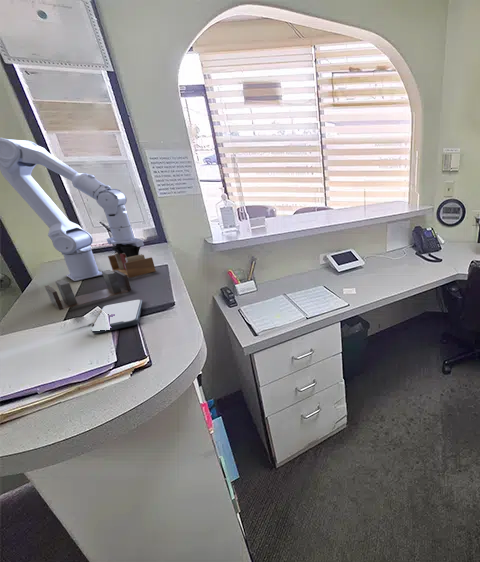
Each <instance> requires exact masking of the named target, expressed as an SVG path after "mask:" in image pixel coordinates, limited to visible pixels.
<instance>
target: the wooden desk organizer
mask: <svg viewBox="0 0 480 562" xmlns="http://www.w3.org/2000/svg"><path fill="white" fill-rule="evenodd" d="M107 258H108V261H109V264H110V267H111V271H113V272H114V271H115V270H118V271H120V272H122V273H124V274H126V275H127V277H128V279H129V278H130V279H131V278H134V277H138V276H142V275H147V274H151V273H154V272H157V270H156V265H155V262H154V259H153V257H146V258H145V255H144V254H140V253H139V255H135V256H130V257H125V260H126V263H124V265H125V268H126V271H125V270H124V267H123V263H122V260H121V257H120V255H119V254H118V253H117V252H114V253H113V254H111V255H107Z"/></svg>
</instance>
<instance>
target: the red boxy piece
mask: <svg viewBox="0 0 480 562" xmlns="http://www.w3.org/2000/svg"><path fill="white" fill-rule="evenodd" d="M138 255H140V253H139V254H138ZM120 257H121V260H122V263H123V267H124V270H125V271H126V268H125V265H124V263H126V260H125V257H127V256H126V255H125V253H122V254H120Z"/></svg>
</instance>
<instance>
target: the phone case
mask: <svg viewBox="0 0 480 562" xmlns="http://www.w3.org/2000/svg"><path fill="white" fill-rule="evenodd" d="M142 305H143V299H140V298H139V299H133V300H127V301H121V302H116V303H110V304H106V305H104V306H102V307H101V309H102V310H103V311H104V312H106V313H107V314H109V315H111V314H115V316H113V317H110V326H111V327H112V328H110V330H109V331H108V332H110V331H115V330H120V329H124V328H130V327H133V326H136V325H138V324H139V323H140V319H141V314H142V311H143V306H142ZM106 332H107V331H105V330H100V331H92V330H91V333H92V334H102V333H106Z"/></svg>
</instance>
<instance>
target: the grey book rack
mask: <svg viewBox="0 0 480 562" xmlns="http://www.w3.org/2000/svg"><path fill="white" fill-rule="evenodd" d="M101 272H102V274H103V275H102V277H103V279H104V282H105V285H106V287H107V288H104V289H101V290H97V291H93V292H89V293H86V294H81V295H78V296H75V294H74V291H73V288H72V285H71V283H70V282H69V281H67V280H66V279H59V280H55V284H56V286H57V289H58V292H59V294H60V296H61V299H62V300H61V299H60V297H59V294H58V292H57V291H56V289H54V288H53V287H51V285H50V284H48V285H44V288H45V290H46V292H47V295H48V297H49V299H50V302H51V304H52V305H53V306H54V307H55V308H57V309H58V310H59V311H62V310H66V309H69V308H73V307H76V306H80V305H85V304H88V303H92V302H95V301H98V300H99V301H100V300H103V299H106V298H110V297H113V296H117V295H120V294H124V293H128V292H132V291H133V290H132V287H131V284H130V280H129V277H127V275H126V274H124V273H122V272H120V271H118V270H115V271H114V272H113V270H112V269H106V270H101Z"/></svg>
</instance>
